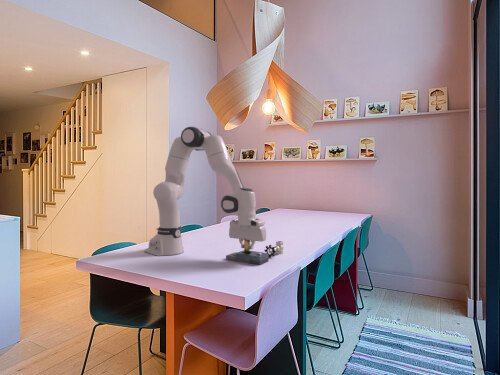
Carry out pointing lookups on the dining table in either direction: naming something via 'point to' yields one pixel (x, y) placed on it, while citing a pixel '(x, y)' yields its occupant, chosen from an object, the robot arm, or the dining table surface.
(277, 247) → the valve
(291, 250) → the dining table surface
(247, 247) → the brass pin
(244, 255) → the gray block with recess
